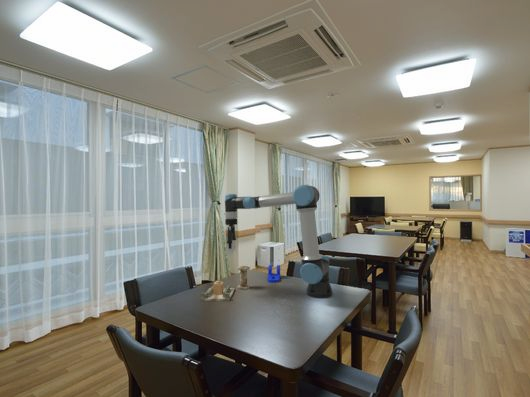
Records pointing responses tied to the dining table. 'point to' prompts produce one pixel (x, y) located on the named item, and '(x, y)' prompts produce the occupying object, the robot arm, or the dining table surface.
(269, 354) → the dining table surface
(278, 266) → the bracket
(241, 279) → the bobbin
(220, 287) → the tab
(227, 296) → the board
